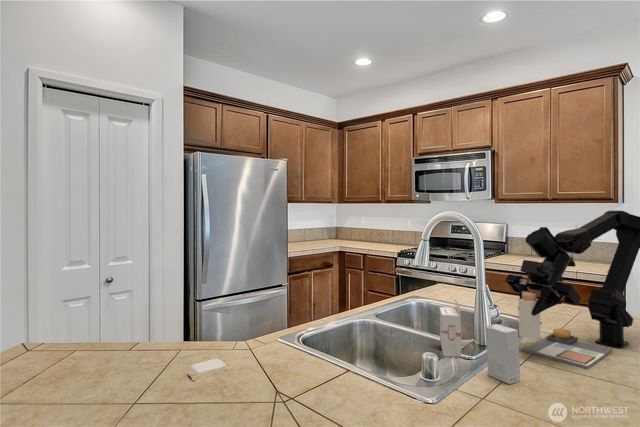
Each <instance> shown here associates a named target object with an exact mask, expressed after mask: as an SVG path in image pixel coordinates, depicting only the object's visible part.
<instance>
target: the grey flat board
mask: <svg viewBox="0 0 640 427" xmlns="http://www.w3.org/2000/svg"><path fill="white" fill-rule="evenodd" d="M578 339H579V338H578V336H574V335H571V338H568V339H564V338H558V337H555V336H554V335H553V333H551V334H549V335H546V336H545V337H543V338H541V339H538V340H536V341H534V342H532V343H530V344H528V345H526V346H523V347H522V348H521V351H522V352H524V353H529V354H532V355H534V356H535V355H536V356H539V357H543V358H546V359H549V360H553V361H557V362H560V363H562V364H563V363H564V364H568V365H571V366H575V367H579V368H582V369H585V370H588V369H590V368H592V367H593V366H595V365H596V364H597V363H599V362H601V361H602V360H603V359H605V358H607V357H608V356H609V355H610V354H611V355H612V354H613V349H612V348H607V347H603V346H600V345H596V344H591V343H587V342H582V341H578Z"/></svg>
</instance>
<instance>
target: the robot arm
mask: <svg viewBox="0 0 640 427" xmlns="http://www.w3.org/2000/svg"><path fill="white" fill-rule="evenodd" d="M612 230H614V231H615V236H616V239H617V242H618V243H617V247H616V249H615V251H614V252H615V253H614V255H613V258H612V261H611V264H610V266H609V269H608V271H607V275H606V277H605V279H604V282H603V284H602V286H601V287H600V288H598V289H597V288H593V289H592V290H591V292H590V296H589V298H588V299H587V301H588V303H587V309H588V311H589V314H590V318H591V320H594V321H598V323H599V324H598V326H599V327H598V328H599V329H598V330H599V331H598V332H599V337H598V338H597V339H595V340H594V342H595V343H597V344H600V345H605V346H609V347H613V348H618V349H623V348H624V347H625V346H627V345H628V344H629V342H628V341H626V340H624V338H625V337H624V336H625V333H624V331H625V330H624V328H630V327H632V325H633V322H634V318H633V316H631V314H630V313H629V312H628V311H627V310H626V308H627V301H626V298H625V295H624V291H625V288H626V286H627V284H628V280H629V279H630V275H631V272H632V270H633V266H634V264H635V261H636V259H637V256H638V253H639V250H640V216H638V215H635V214H631V213H629V212H627V211H624V210H606V211H605V212H604V213H603V214H602V215H600V216H598V217H597V218H595V219H593V220H591V221H589V222H588V223H587V222H586V223H585V224H584V225H582V226H580V227H578V228H575V229H567V230H564V231H561V232H558V233H556V235H554V234H553V233H552V232H551V231H550V229H549V228H548V227H547V226H545V227H544V226H543V227H542V226H540V227H539V229H537V230H534V231H532V232H530V233H529V234H528V235H527V236H526V238H525V243H526V244H527V245H528V246H529V247H530V248H531V250H532V251H533V252H534V253H535V254H536V256H538V257H539V258H544V259H543V261H542V262H540V261H535V260H528V259H527V260H526V259H523V260H522V263H521V268H520V272H522V273H525V274H527V279H529V280H530V281H529V280H527V279H524V277H523V276H522V275H519V274H512V273H511V274H509V273H508V274H507V276H506V277H505V279H504V281H505V283H506V284H507V285H508V286H509V287H510V289H511V291H513V292H514V293H517V294H519V297H518V298H519V299H522V291H534V292H540V295H539V298H537V300H538V301H537V303H536V304H535V306H534V308H533V310H532V313H531V314H532V315H533V316H535V315H537V314H539V313H540V314H541V313H542V312H544V311H546V310H548V309H550V308H552V307H554V306H557V305H562V303H563V302H562V299H563V300H564V301H565V303H566V304H568V305H572V306H578V305H579V303H580V301H581V300H582V298H581V294H580V293H579V292H578V291H577V289H576V287H575V286H574V285H573V283H568V282H564V280H565V279H564V277H563V275H564V273H565V271H566V269H567V268H568V267H573V268H574V267H576V262H575V261H574V257H573V256H571V255H569V254H575V255H581V254H583V253H584V252H586V251H587V250H588V249H590V247H591V246H592V242H593V241H594V240H596V239H597V238H599V237H601V236H603V235H605V234H606V233H608V232H610V231H612ZM519 299H518V300H519ZM517 310H518V312H519V305H518V306H517Z"/></svg>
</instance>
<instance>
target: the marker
mask: <svg viewBox="0 0 640 427" xmlns="http://www.w3.org/2000/svg"><path fill="white" fill-rule="evenodd" d="M537 301H538V299H537V291H534V290H532V291H522V299H518V306H519V311H518V329H519V330H518V337H519V336H520V337H522V338H525V339H529V340H531V341H532V340H536V339H539V338H541V335H542V334H541V313H539V314H537V315H535V316H533V315H532V314H531V313H532V310H533V308H534V306H535V304H536V303H537ZM541 339H542V338H541Z"/></svg>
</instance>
